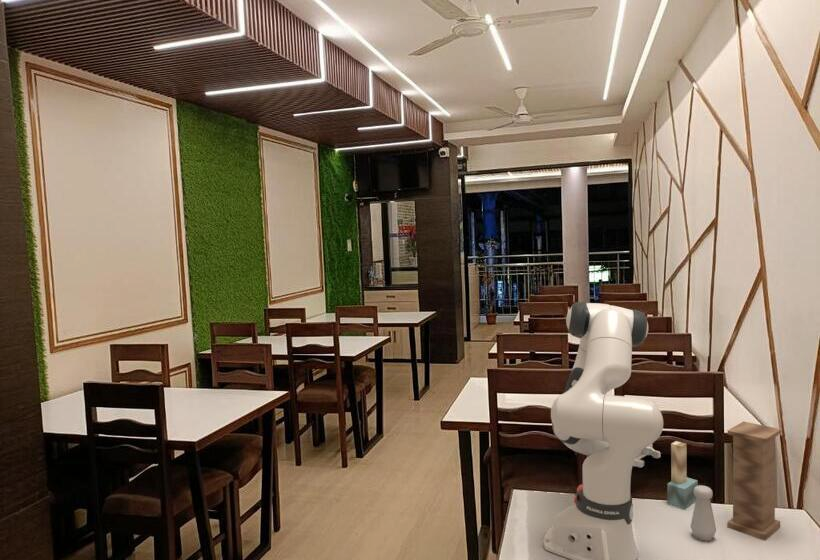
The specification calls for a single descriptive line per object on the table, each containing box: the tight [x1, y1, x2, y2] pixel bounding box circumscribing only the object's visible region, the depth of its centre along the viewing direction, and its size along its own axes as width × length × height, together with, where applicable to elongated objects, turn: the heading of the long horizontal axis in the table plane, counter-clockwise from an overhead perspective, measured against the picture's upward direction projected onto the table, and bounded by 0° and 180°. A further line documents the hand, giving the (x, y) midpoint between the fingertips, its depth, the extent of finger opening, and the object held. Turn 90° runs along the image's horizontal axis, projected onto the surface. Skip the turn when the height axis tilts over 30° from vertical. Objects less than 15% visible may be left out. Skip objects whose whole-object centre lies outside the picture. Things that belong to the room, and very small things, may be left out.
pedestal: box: [726, 421, 782, 542], centre depth 151 cm, size 9×10×26 cm
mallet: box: [666, 440, 699, 511], centre depth 166 cm, size 17×8×5 cm
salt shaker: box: [690, 484, 717, 542], centre depth 147 cm, size 6×6×13 cm
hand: (651, 459), depth 173 cm, fingers open, 8 cm apart
